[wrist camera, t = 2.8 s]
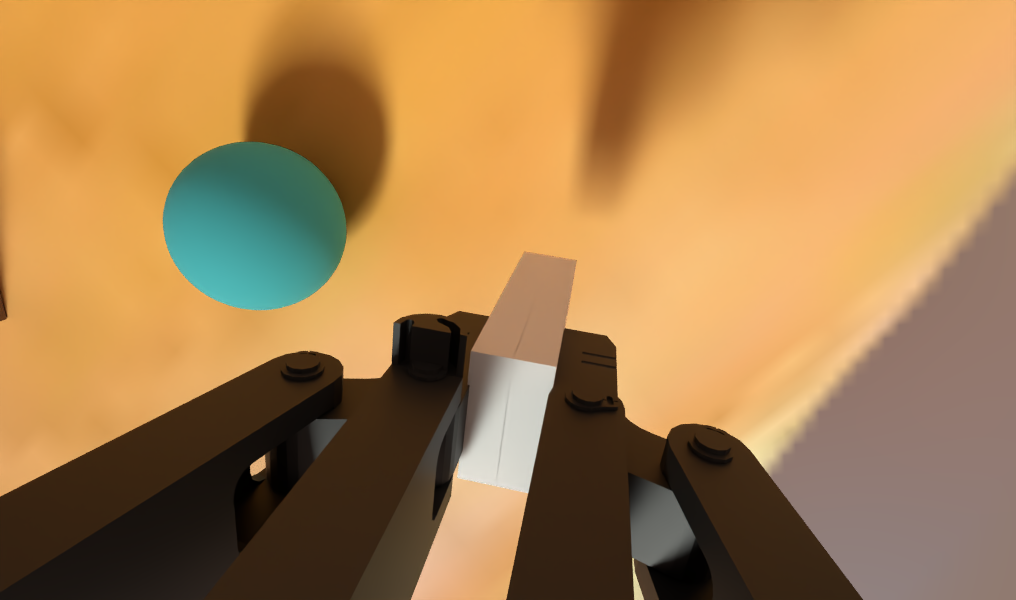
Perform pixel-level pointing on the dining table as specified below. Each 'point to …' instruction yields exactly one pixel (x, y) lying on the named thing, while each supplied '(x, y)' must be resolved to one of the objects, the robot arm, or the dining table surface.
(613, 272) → the dining table surface
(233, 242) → the ball
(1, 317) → the bridge
